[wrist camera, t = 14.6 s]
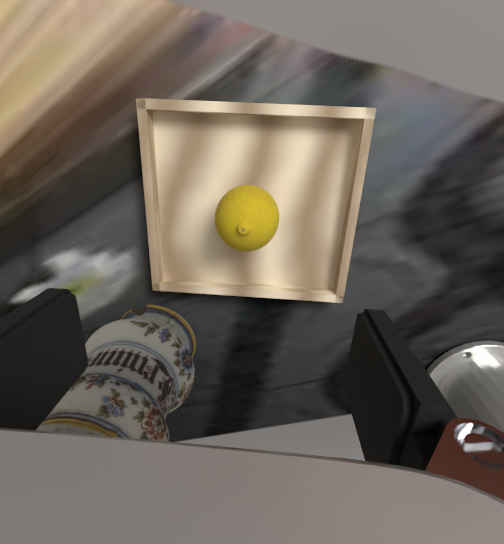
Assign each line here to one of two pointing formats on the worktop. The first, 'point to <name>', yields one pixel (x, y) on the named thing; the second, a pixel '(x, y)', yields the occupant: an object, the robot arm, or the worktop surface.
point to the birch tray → (259, 172)
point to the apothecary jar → (130, 378)
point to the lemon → (246, 218)
